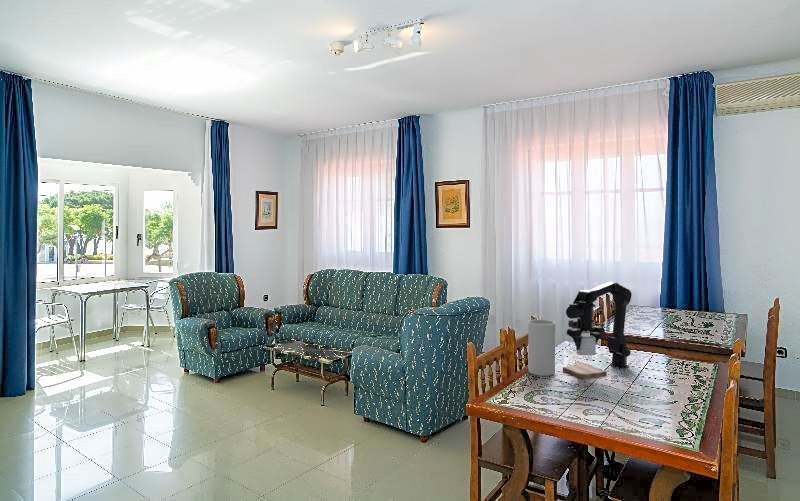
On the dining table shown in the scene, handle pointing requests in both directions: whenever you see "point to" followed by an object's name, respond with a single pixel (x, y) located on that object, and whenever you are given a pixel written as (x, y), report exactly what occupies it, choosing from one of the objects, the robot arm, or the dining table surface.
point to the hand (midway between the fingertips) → (585, 348)
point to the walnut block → (584, 371)
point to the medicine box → (587, 346)
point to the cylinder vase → (541, 347)
